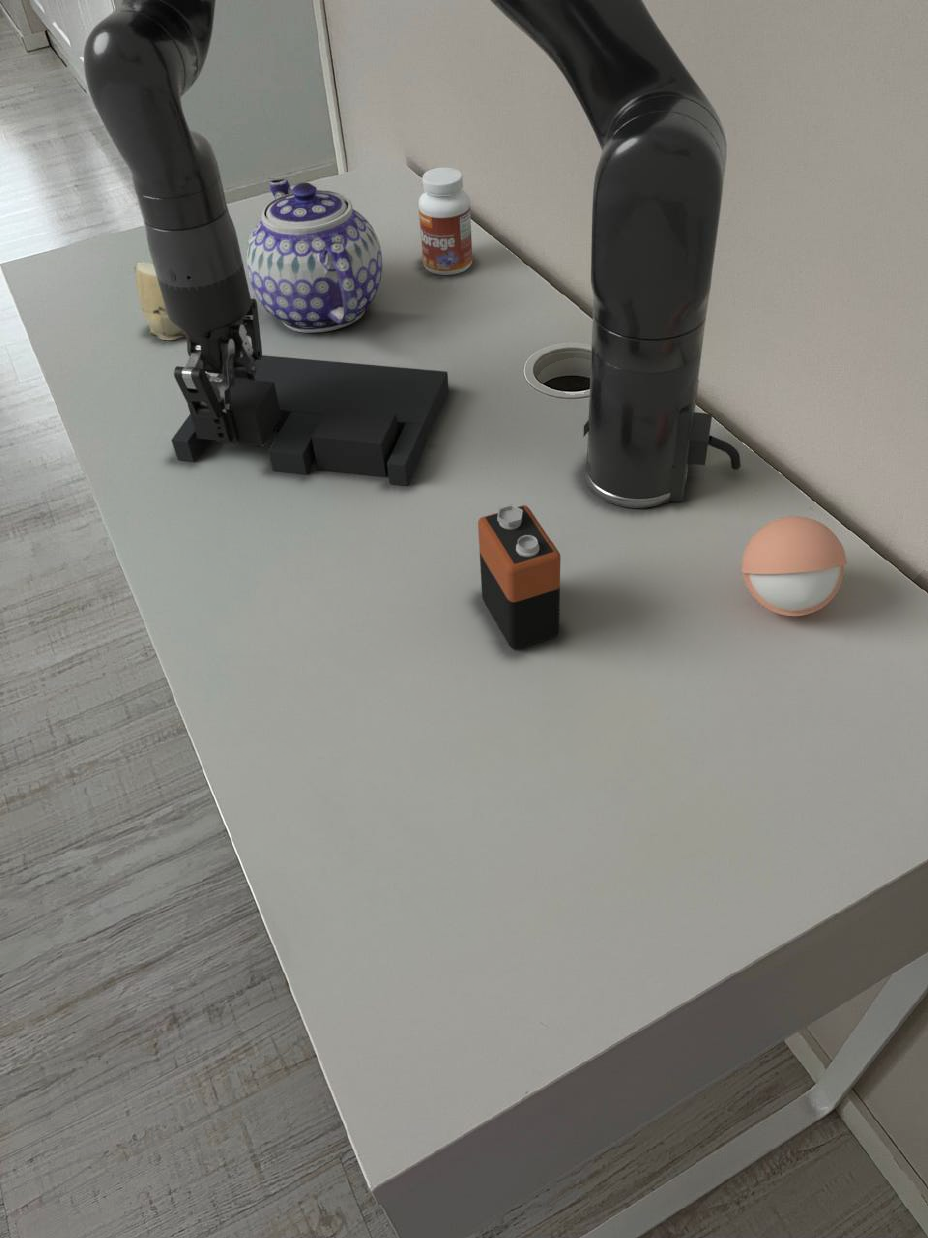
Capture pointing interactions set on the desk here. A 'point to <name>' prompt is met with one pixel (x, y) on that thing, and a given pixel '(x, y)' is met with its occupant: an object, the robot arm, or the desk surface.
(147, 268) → the beige upright cylinder
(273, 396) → the pad
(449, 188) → the pill bottle
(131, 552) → the desk surface
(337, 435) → the pad
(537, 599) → the battery
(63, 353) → the desk surface
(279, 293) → the teapot
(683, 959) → the desk surface
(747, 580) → the toy ball
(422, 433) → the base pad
